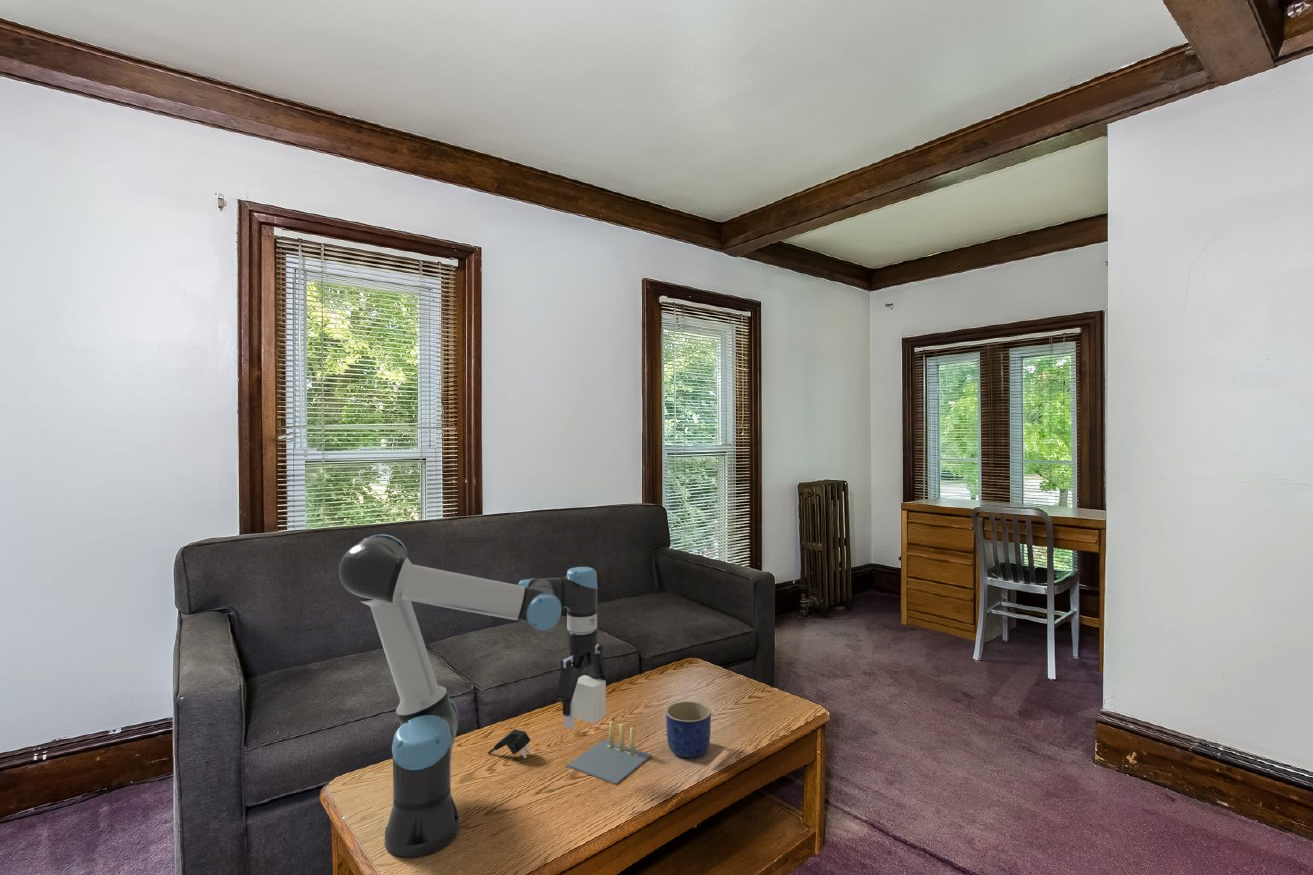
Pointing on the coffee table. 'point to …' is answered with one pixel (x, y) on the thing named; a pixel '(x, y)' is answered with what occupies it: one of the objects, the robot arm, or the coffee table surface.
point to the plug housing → (589, 699)
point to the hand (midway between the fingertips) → (582, 718)
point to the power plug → (514, 742)
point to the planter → (688, 728)
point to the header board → (611, 758)
